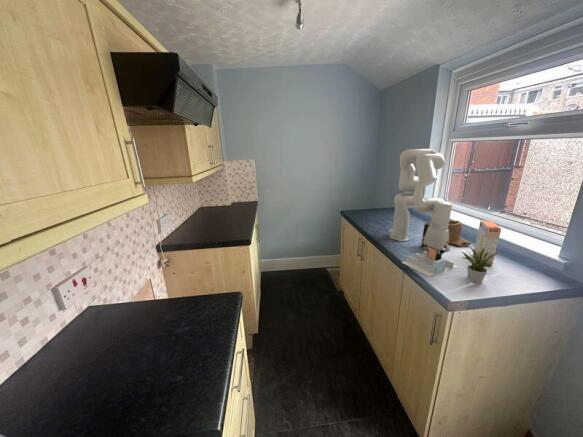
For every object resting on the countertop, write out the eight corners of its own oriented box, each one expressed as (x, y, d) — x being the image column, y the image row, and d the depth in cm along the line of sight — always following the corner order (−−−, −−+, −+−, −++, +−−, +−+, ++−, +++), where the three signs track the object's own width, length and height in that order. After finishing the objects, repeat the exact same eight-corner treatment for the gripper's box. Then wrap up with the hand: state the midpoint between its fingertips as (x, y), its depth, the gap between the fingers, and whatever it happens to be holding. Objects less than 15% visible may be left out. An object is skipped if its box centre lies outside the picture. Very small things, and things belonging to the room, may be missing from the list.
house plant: (486, 274, 112) (493, 243, 108) (504, 290, 99) (513, 255, 95) (453, 271, 116) (459, 241, 111) (466, 286, 103) (473, 252, 98)
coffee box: (420, 249, 142) (423, 224, 138) (423, 246, 147) (426, 221, 142) (437, 253, 136) (441, 227, 132) (439, 249, 141) (443, 224, 136)
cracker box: (492, 266, 119) (502, 228, 114) (478, 264, 122) (486, 226, 116) (485, 256, 131) (493, 220, 126) (472, 254, 134) (480, 219, 128)
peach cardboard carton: (426, 261, 124) (429, 247, 121) (431, 259, 125) (434, 246, 123) (433, 264, 120) (436, 250, 118) (439, 263, 122) (441, 249, 119)
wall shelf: (401, 263, 124) (402, 251, 122) (428, 256, 133) (430, 244, 131) (428, 277, 110) (430, 264, 108) (457, 268, 119) (460, 255, 117)
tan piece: (435, 240, 155) (439, 219, 151) (449, 238, 159) (453, 217, 155) (457, 249, 141) (461, 225, 137) (471, 246, 145) (476, 223, 141)
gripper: (419, 222, 123) (414, 253, 128) (451, 231, 108) (444, 267, 113) (428, 220, 126) (424, 251, 131) (461, 229, 111) (454, 263, 116)
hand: (433, 258), depth 122 cm, fingers closed on peach cardboard carton, 4 cm apart
